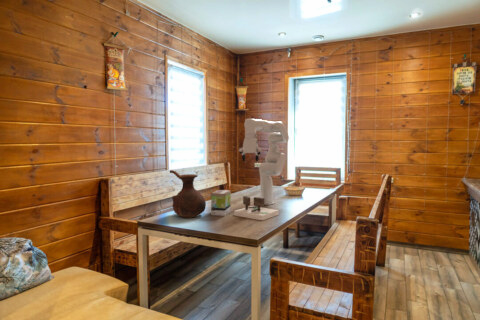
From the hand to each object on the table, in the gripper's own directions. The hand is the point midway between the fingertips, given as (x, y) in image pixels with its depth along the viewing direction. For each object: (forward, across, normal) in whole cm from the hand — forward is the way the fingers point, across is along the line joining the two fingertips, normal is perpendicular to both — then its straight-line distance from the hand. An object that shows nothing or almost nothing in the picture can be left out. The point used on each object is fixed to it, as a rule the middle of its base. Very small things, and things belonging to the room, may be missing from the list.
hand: (250, 161), depth 221 cm
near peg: (+31, -11, +16) cm, 37 cm away
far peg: (+31, -5, +11) cm, 33 cm away
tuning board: (+34, -10, +13) cm, 38 cm away
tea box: (+35, +14, +17) cm, 41 cm away
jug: (+35, +30, +31) cm, 56 cm away
